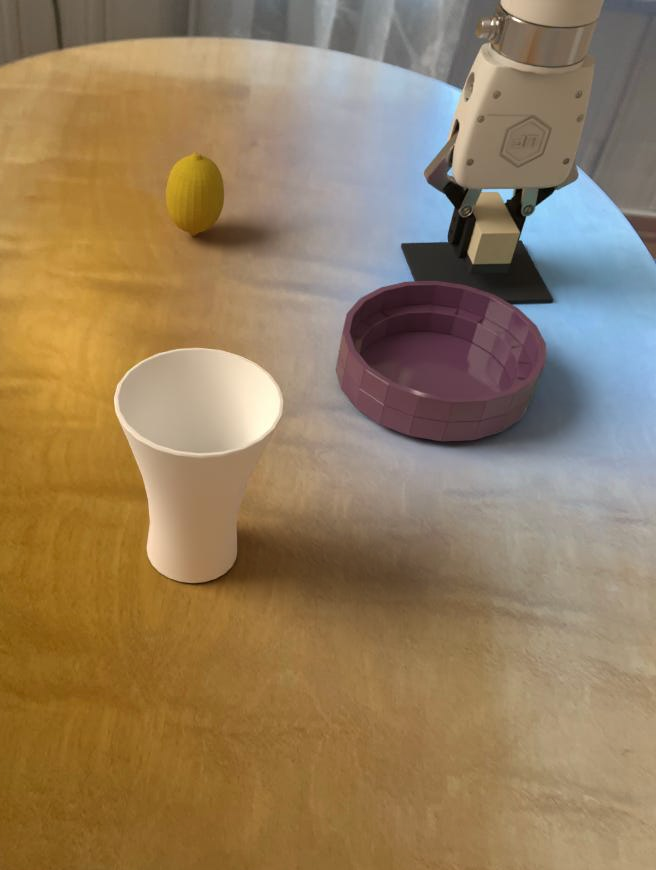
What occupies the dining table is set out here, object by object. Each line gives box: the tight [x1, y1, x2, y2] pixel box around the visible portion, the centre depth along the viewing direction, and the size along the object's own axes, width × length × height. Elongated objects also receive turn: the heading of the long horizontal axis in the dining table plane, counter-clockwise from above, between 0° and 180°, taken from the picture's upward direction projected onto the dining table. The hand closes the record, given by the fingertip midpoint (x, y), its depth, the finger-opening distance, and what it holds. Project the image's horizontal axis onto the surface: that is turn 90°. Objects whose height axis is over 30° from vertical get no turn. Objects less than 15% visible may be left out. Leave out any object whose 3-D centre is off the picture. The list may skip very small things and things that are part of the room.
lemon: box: [165, 151, 225, 237], centre depth 95 cm, size 6×6×8 cm
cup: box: [113, 347, 285, 584], centre depth 67 cm, size 10×10×14 cm
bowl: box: [335, 280, 547, 442], centre depth 83 cm, size 16×16×4 cm
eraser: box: [463, 191, 521, 274], centre depth 92 cm, size 4×7×4 cm, turn 5°
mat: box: [400, 239, 554, 305], centre depth 95 cm, size 12×10×1 cm
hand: (479, 248), depth 93 cm, fingers closed on eraser, 3 cm apart
